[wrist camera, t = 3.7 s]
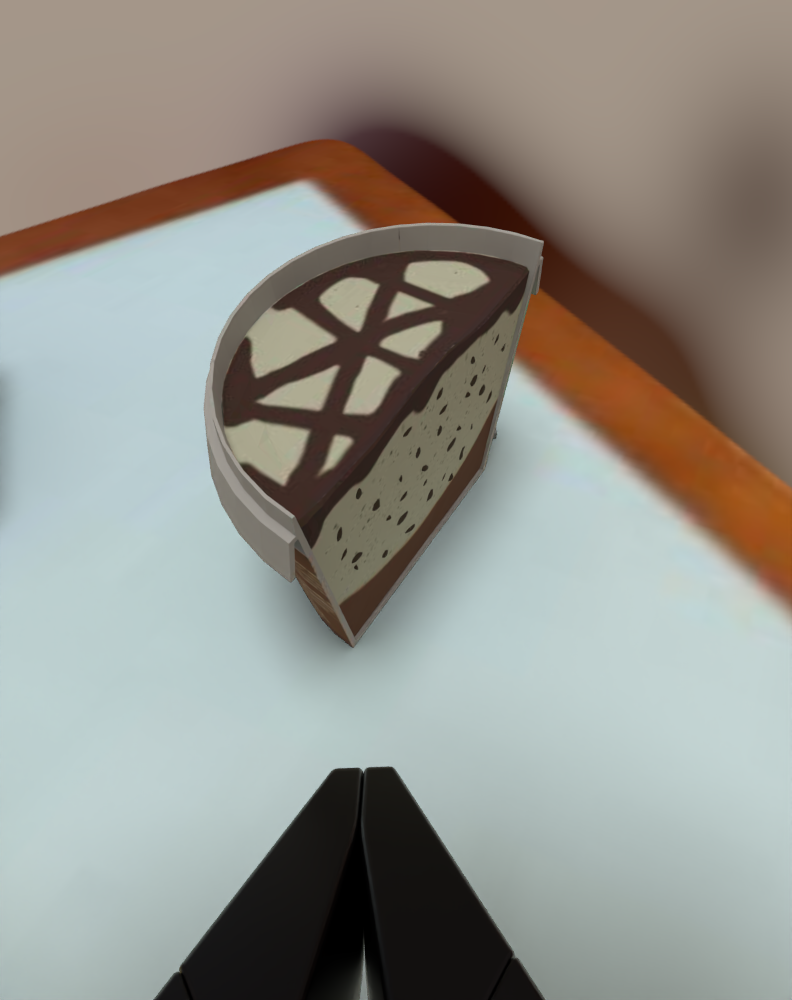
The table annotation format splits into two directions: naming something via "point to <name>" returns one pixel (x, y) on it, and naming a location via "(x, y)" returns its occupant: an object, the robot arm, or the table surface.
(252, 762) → the table surface
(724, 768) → the table surface
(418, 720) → the table surface
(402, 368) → the food container
